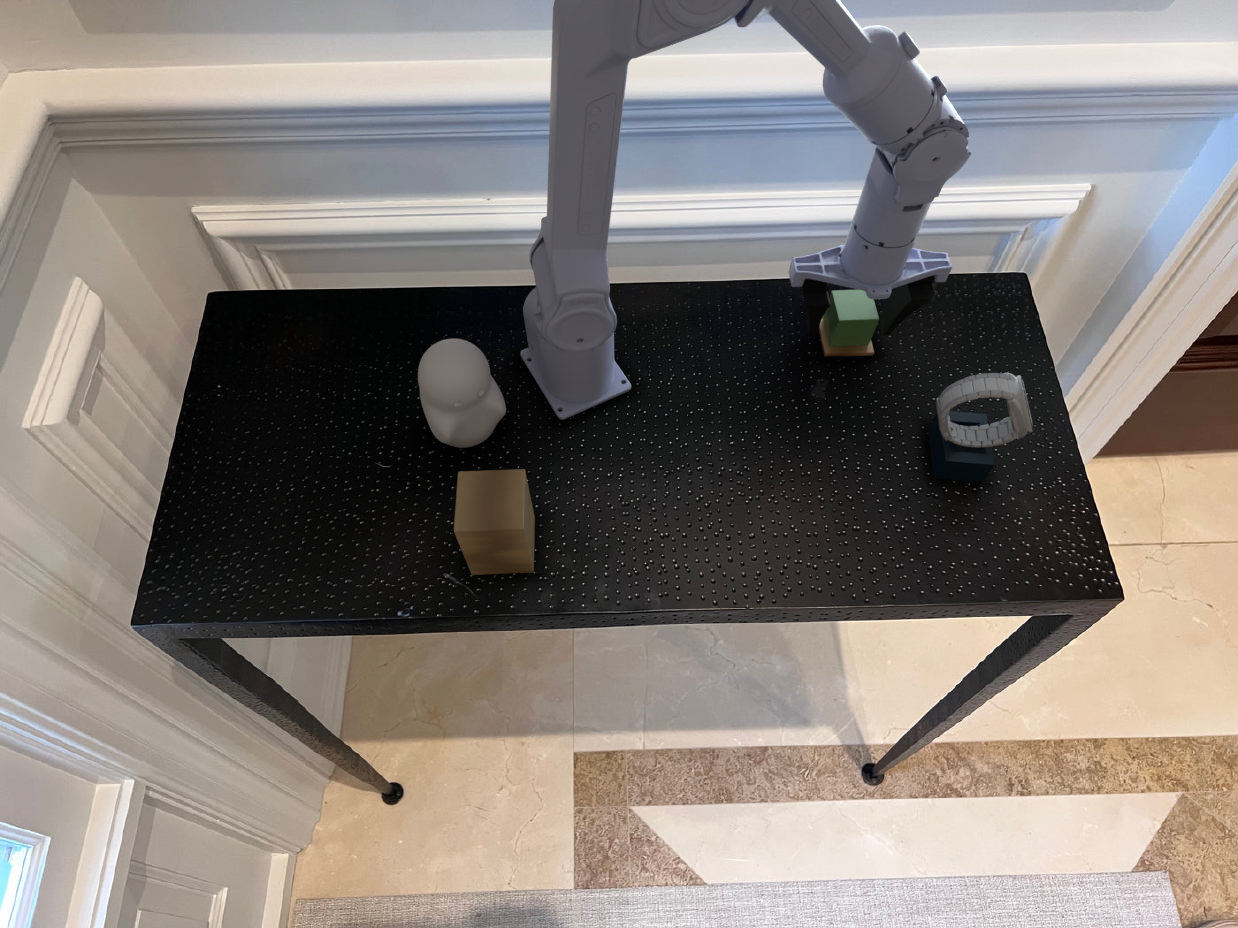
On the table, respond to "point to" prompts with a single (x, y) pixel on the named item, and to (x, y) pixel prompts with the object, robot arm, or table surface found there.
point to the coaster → (842, 349)
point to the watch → (975, 426)
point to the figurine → (459, 393)
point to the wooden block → (495, 521)
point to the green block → (850, 318)
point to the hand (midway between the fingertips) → (847, 328)
